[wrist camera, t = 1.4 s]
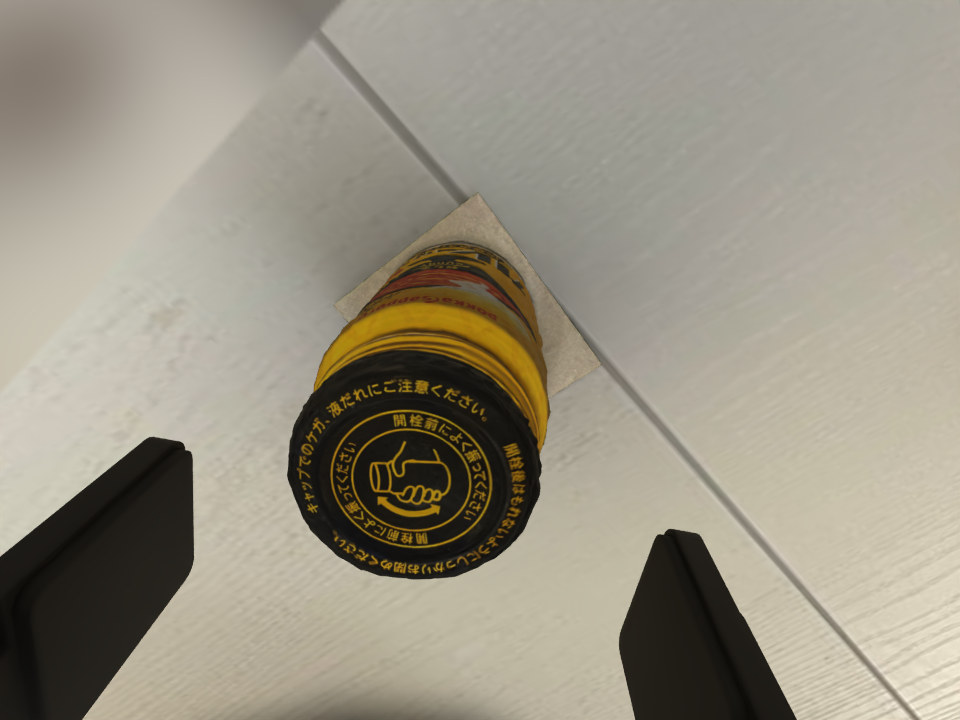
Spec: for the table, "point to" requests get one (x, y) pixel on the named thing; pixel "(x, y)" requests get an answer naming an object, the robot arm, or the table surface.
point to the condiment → (435, 404)
